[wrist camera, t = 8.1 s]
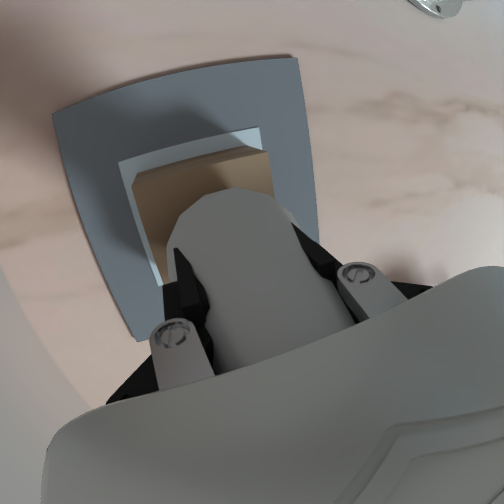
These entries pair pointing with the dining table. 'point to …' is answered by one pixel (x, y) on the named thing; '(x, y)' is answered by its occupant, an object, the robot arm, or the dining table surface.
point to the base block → (194, 190)
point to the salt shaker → (254, 278)
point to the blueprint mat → (178, 159)
